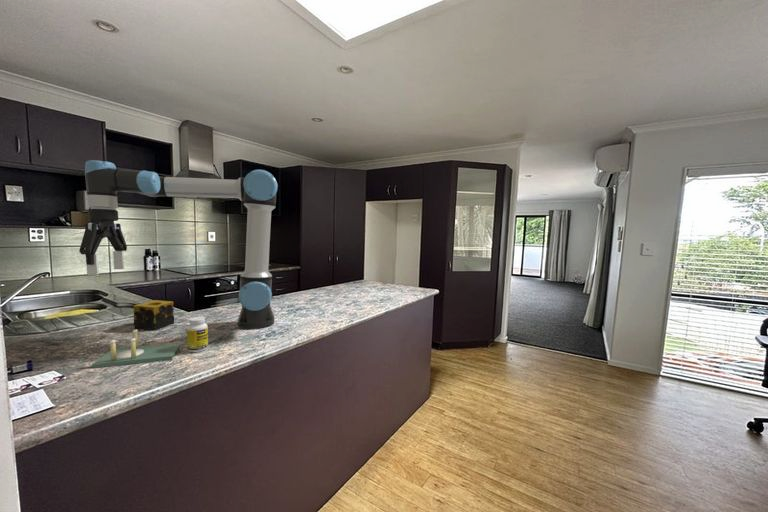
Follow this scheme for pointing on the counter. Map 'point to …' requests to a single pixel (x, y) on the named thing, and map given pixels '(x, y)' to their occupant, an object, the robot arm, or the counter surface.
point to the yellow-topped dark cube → (153, 315)
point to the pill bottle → (197, 335)
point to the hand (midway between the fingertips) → (106, 271)
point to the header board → (136, 353)
